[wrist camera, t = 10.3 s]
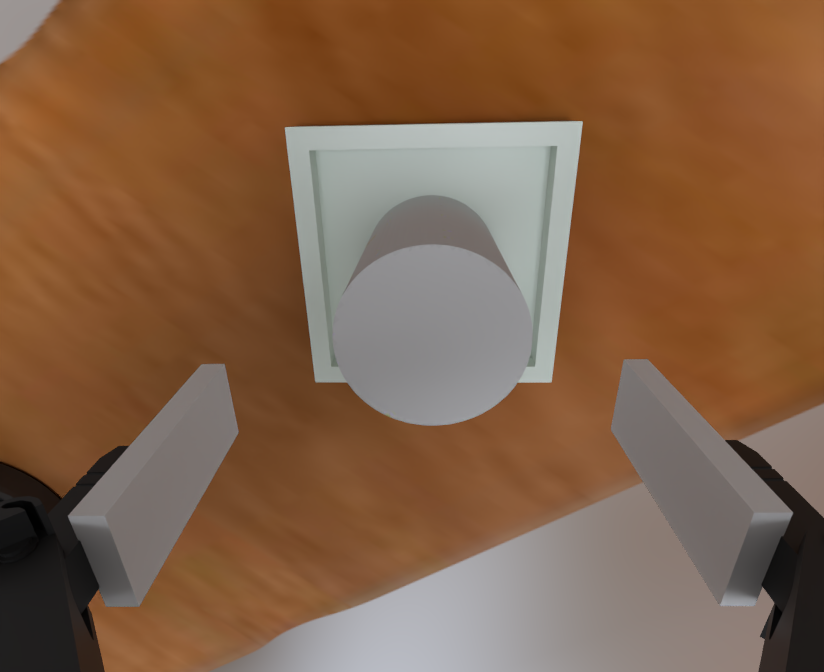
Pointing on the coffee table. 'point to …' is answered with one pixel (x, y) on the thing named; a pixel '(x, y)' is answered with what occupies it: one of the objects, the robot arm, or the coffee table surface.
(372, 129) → the tray
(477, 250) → the cup
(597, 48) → the coffee table surface
